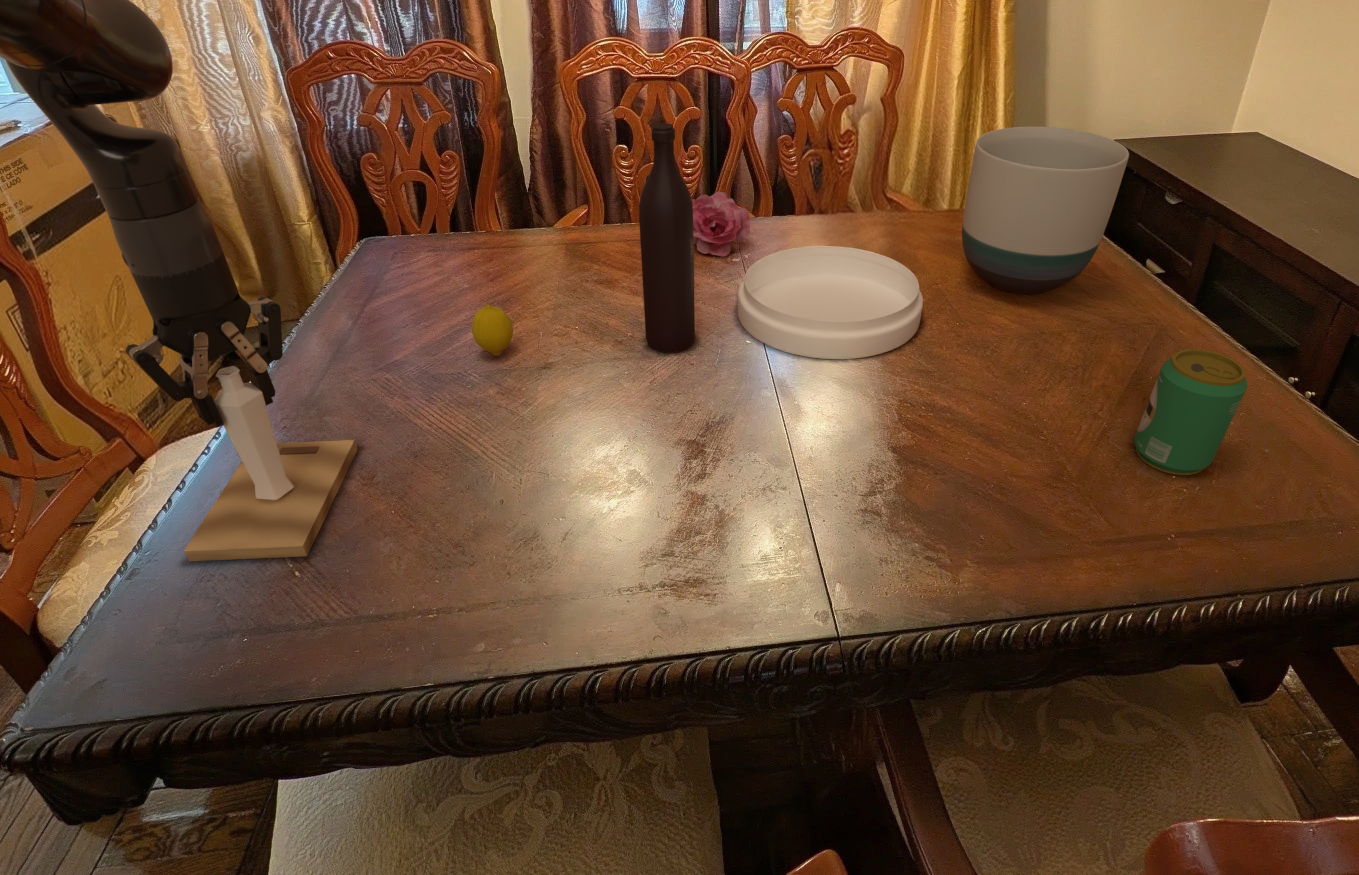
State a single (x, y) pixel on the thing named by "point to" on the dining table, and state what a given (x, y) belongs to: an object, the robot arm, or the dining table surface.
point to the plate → (830, 302)
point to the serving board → (275, 507)
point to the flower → (718, 223)
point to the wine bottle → (667, 249)
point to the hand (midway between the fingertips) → (241, 411)
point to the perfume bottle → (251, 433)
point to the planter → (1038, 204)
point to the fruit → (492, 329)
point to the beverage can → (1189, 411)
